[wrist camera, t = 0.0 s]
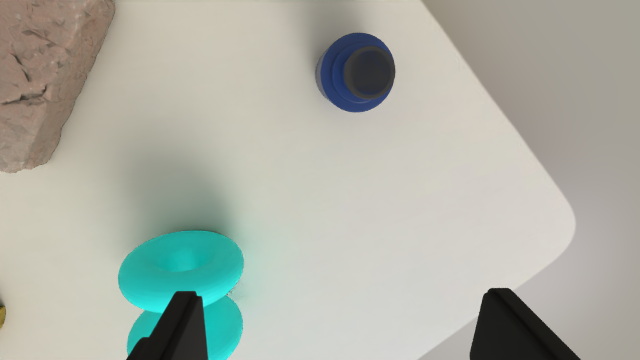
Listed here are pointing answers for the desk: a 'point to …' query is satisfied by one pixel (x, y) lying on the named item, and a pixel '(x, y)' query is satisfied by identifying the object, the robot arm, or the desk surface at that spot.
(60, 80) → the brick
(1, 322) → the compass
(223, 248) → the pair of turquoise discs
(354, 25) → the desk surface
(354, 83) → the bottle
